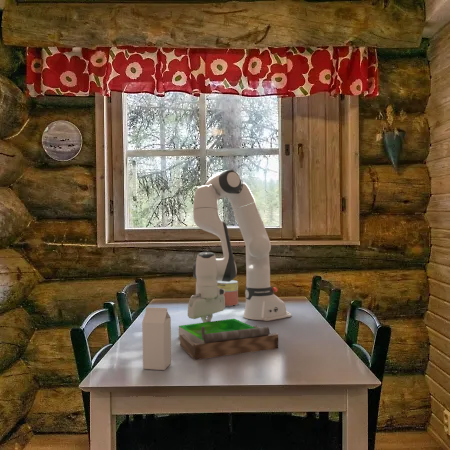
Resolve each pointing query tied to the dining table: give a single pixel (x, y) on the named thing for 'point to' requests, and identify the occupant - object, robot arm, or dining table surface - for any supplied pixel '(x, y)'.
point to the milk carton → (156, 338)
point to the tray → (211, 328)
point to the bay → (230, 342)
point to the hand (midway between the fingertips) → (206, 325)
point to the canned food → (229, 291)
